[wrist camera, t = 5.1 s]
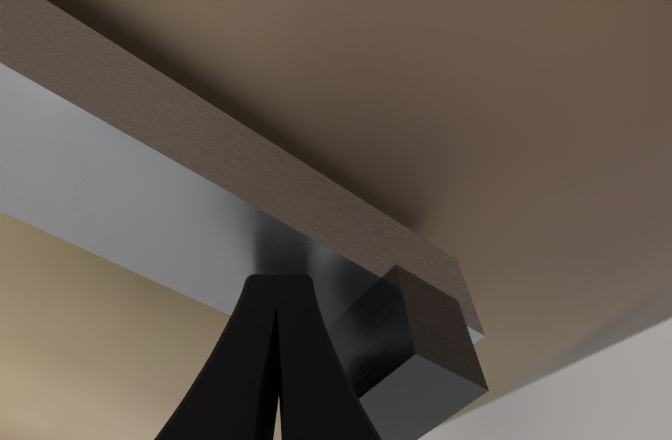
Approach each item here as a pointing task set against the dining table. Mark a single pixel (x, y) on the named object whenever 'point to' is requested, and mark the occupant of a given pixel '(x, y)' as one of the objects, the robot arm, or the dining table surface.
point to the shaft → (224, 213)
